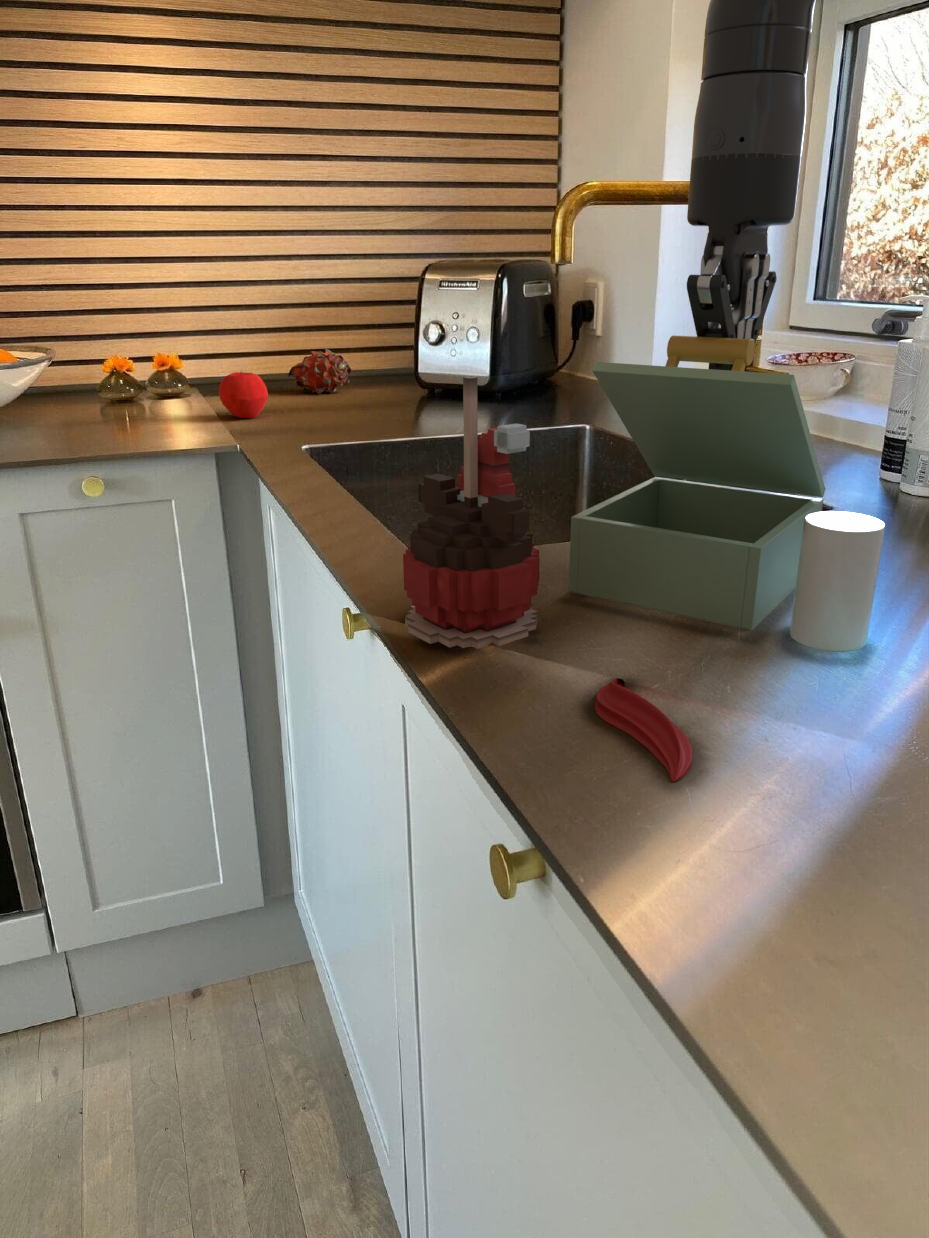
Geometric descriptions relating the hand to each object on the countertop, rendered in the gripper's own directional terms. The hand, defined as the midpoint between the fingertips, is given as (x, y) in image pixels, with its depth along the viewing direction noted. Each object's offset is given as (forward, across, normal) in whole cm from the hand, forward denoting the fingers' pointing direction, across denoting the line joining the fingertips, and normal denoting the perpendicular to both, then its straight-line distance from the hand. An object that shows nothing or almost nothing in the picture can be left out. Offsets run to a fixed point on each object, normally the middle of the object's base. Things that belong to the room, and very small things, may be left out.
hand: (722, 401), depth 73 cm
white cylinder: (+15, -9, -12) cm, 21 cm away
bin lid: (+2, -2, 0) cm, 3 cm away
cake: (+15, -20, +10) cm, 27 cm away
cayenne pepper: (+15, -27, -6) cm, 31 cm away
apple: (+15, +35, +92) cm, 99 cm away
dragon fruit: (+15, +62, +100) cm, 119 cm away
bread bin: (+15, -3, 0) cm, 15 cm away
